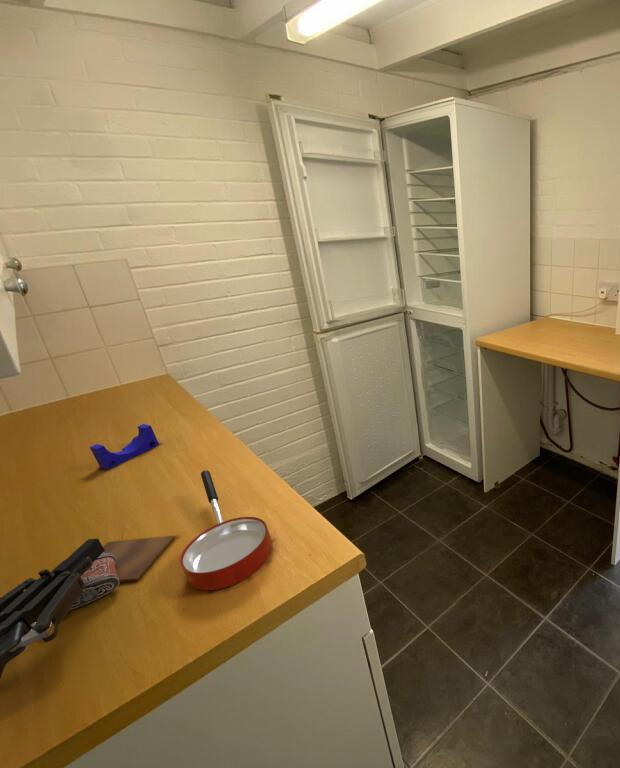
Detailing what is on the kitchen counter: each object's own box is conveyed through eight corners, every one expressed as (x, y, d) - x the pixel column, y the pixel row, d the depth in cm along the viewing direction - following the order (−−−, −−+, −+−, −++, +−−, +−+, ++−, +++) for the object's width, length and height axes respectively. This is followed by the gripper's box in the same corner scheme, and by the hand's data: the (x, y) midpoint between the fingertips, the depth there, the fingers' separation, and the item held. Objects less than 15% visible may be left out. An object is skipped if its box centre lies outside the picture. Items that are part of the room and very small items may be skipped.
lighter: (122, 588, 70) (117, 556, 76) (115, 572, 69) (110, 541, 75) (53, 618, 65) (53, 581, 71) (45, 601, 63) (46, 565, 70)
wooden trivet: (62, 588, 71) (61, 586, 70) (109, 544, 80) (107, 542, 79) (138, 580, 72) (136, 578, 71) (175, 538, 81) (174, 535, 80)
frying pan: (163, 514, 87) (151, 490, 84) (233, 485, 95) (224, 462, 93) (198, 606, 66) (184, 578, 64) (284, 558, 75) (274, 531, 72)
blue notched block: (148, 442, 115) (140, 423, 113) (159, 444, 114) (150, 425, 111) (96, 466, 105) (85, 446, 102) (107, 469, 103) (96, 449, 101)
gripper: (-112, 727, 48) (64, 566, 70) (10, 711, 50) (147, 557, 71) (-156, 688, 45) (42, 531, 67) (-25, 671, 46) (129, 523, 68)
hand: (96, 545), depth 69 cm, fingers closed
